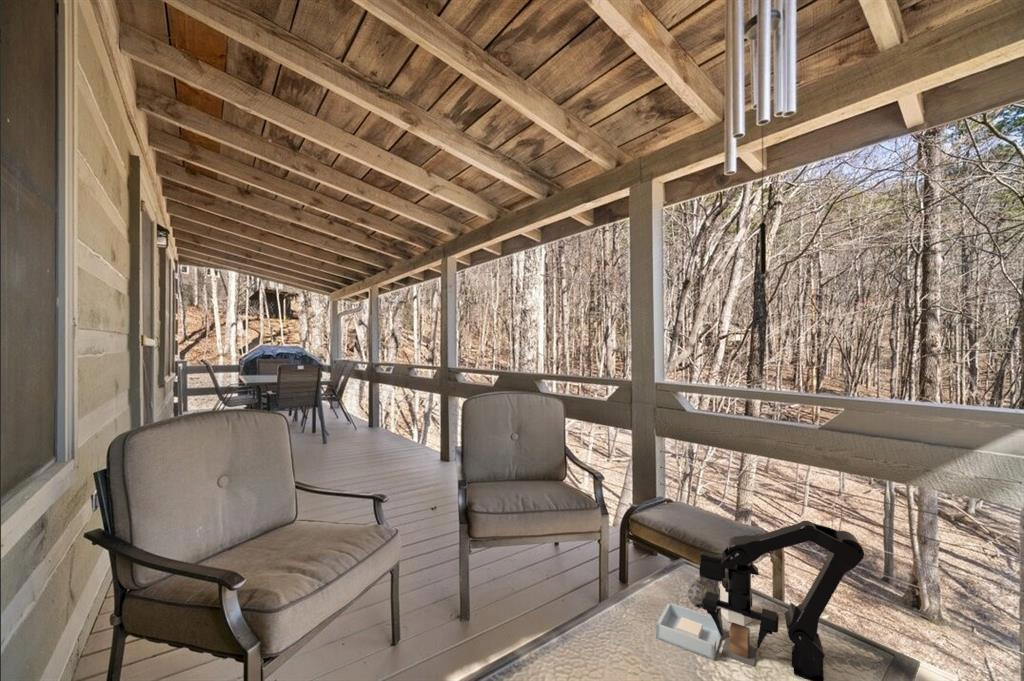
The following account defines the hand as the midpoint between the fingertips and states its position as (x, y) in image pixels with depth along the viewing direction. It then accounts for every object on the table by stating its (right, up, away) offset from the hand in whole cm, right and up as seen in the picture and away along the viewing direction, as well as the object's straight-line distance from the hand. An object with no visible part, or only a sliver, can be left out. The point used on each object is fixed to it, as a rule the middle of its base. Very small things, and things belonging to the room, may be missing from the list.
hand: (739, 641), depth 120 cm
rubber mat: (0, -3, 0) cm, 3 cm away
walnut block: (0, -3, 0) cm, 3 cm away
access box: (-11, -3, +7) cm, 13 cm away
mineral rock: (+1, -4, +25) cm, 26 cm away
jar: (+7, -4, +16) cm, 18 cm away
